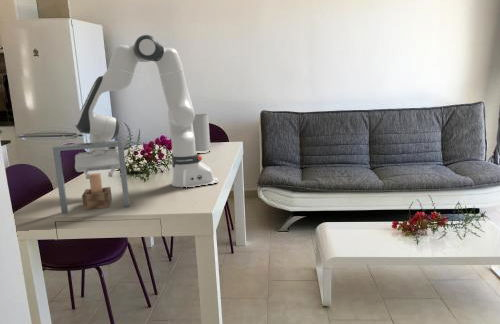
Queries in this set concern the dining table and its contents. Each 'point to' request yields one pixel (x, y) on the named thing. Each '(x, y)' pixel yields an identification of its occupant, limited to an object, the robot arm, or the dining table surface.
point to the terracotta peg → (95, 183)
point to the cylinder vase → (201, 132)
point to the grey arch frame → (89, 146)
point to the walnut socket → (97, 199)
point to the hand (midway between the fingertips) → (99, 177)
